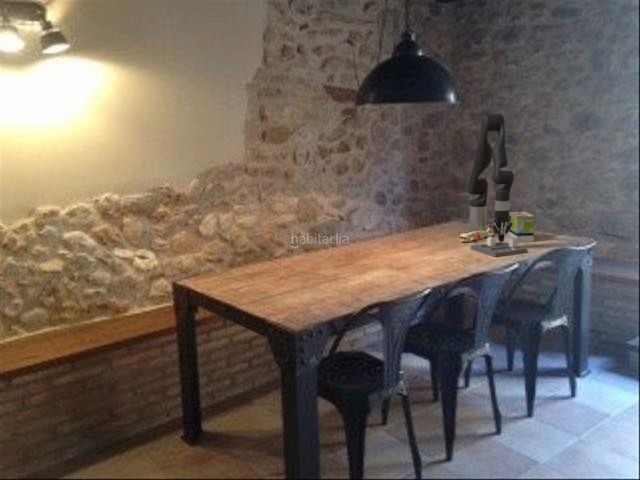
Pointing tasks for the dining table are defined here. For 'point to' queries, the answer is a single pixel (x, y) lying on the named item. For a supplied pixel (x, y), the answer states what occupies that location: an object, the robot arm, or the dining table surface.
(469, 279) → the dining table surface
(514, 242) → the grey fader
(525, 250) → the grey slotted board
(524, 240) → the tea box
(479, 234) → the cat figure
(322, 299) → the dining table surface
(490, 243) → the cream fader
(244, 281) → the dining table surface
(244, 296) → the dining table surface
